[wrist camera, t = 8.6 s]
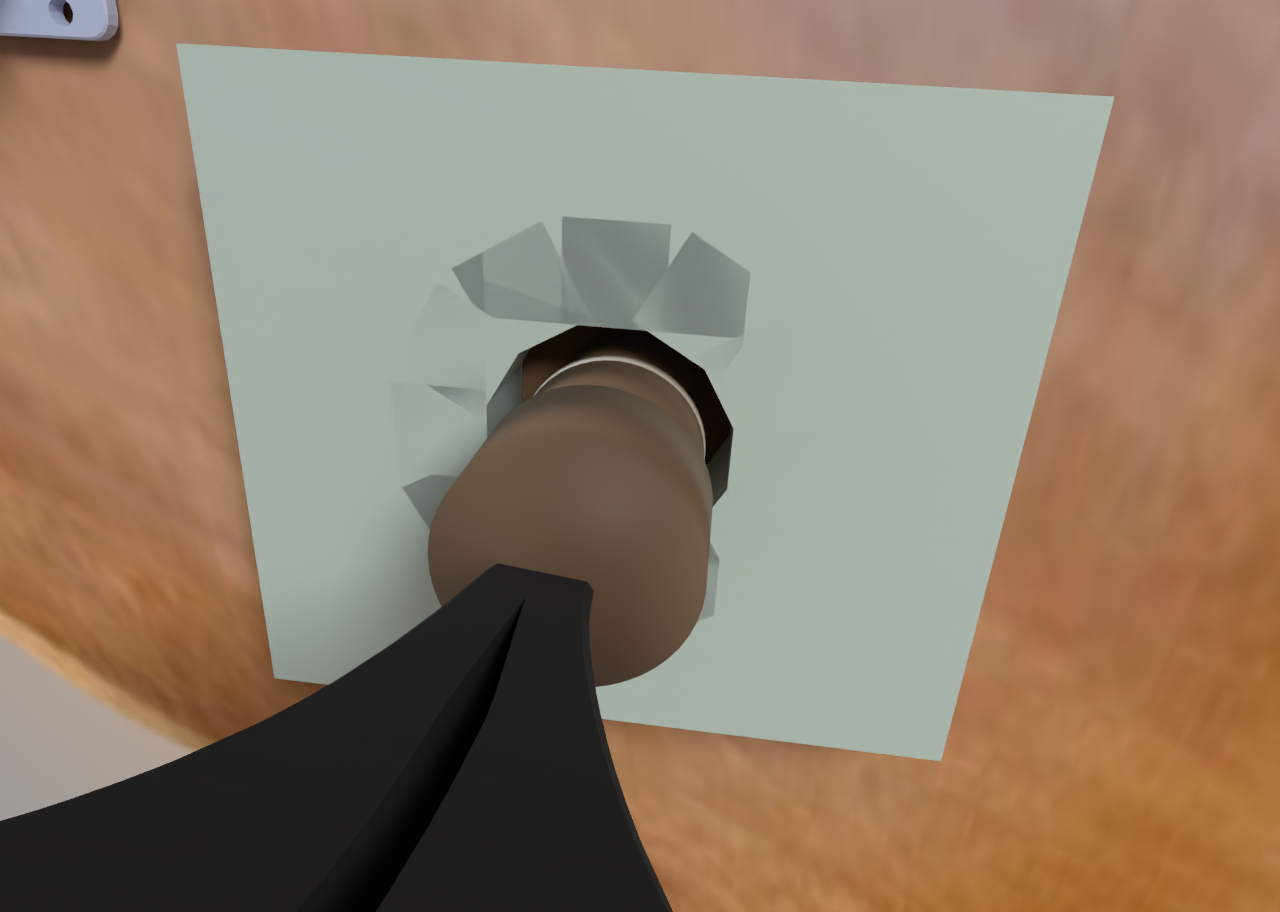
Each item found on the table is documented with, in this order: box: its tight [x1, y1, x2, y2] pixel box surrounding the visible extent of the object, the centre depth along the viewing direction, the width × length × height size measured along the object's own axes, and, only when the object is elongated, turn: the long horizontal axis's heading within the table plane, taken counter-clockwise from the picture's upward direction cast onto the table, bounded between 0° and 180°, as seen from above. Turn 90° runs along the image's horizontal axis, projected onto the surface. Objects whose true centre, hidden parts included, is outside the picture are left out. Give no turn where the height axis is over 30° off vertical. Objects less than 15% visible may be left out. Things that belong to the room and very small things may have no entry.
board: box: [176, 43, 1114, 761], centre depth 18 cm, size 16×14×3 cm
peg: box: [428, 329, 713, 687], centre depth 16 cm, size 4×4×8 cm
